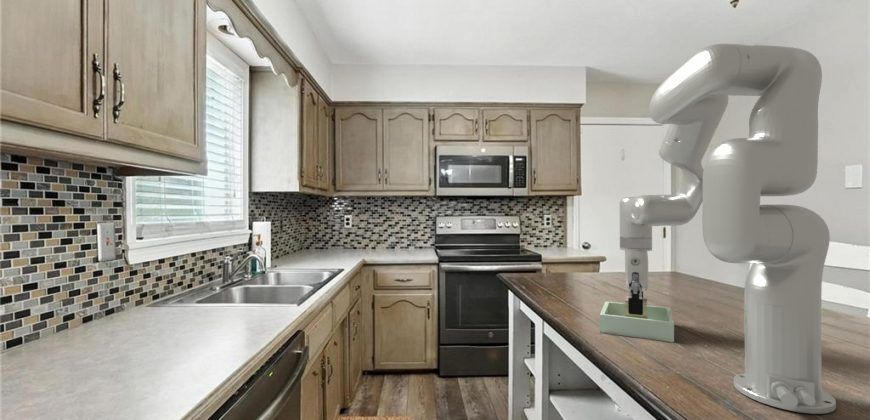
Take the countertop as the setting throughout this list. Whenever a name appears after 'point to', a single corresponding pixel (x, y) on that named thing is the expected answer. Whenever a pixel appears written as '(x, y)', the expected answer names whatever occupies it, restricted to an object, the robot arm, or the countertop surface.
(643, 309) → the beech block
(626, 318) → the bin
